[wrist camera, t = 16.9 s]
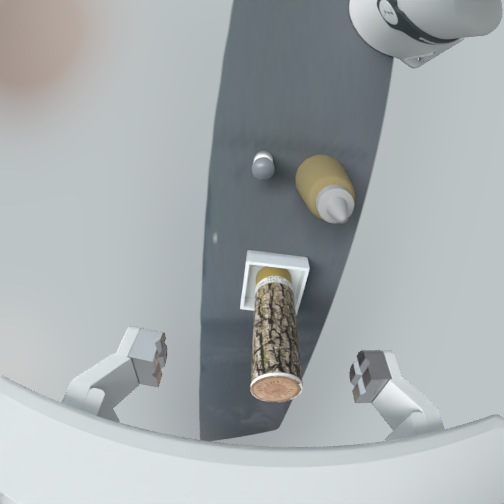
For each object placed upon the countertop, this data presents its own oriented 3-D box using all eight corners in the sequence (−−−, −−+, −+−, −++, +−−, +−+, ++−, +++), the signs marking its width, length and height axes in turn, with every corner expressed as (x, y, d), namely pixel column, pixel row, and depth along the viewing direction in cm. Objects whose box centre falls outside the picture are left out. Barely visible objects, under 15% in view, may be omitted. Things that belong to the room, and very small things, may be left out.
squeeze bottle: (344, 190, 48) (380, 241, 32) (299, 201, 49) (315, 258, 34) (335, 144, 44) (372, 176, 28) (287, 156, 45) (299, 194, 30)
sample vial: (267, 146, 45) (267, 154, 40) (276, 163, 46) (278, 173, 41) (249, 156, 46) (247, 165, 40) (259, 172, 47) (258, 183, 42)
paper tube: (248, 272, 56) (239, 385, 35) (280, 256, 54) (287, 369, 33) (267, 296, 59) (267, 406, 38) (297, 282, 57) (311, 393, 36)
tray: (247, 249, 55) (246, 261, 51) (307, 257, 55) (309, 268, 52) (241, 296, 60) (240, 308, 57) (295, 302, 61) (296, 314, 57)
